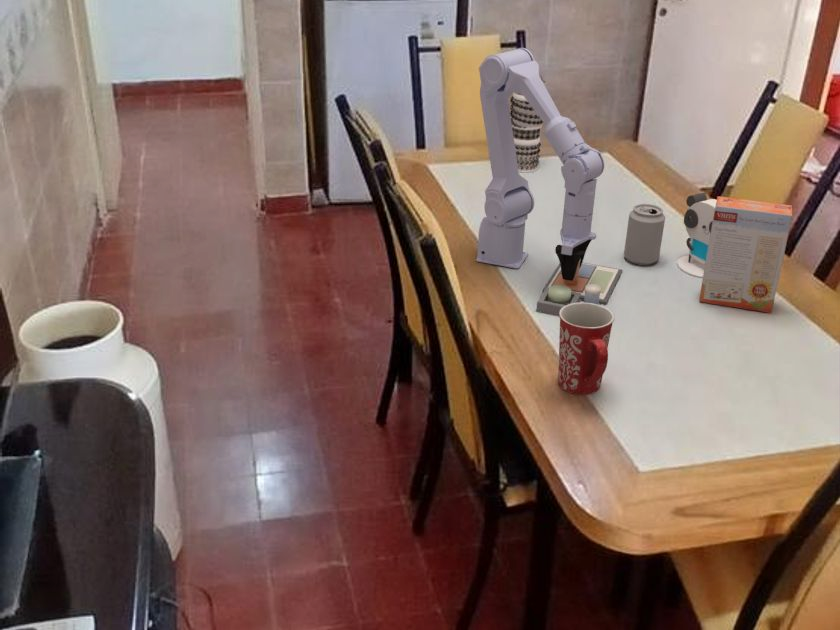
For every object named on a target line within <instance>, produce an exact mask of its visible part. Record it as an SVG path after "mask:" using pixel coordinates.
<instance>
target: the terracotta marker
mask: <svg viewBox="0 0 840 630" xmlns="http://www.w3.org/2000/svg"><path fill="white" fill-rule="evenodd" d="M580 260H581V258H580ZM579 266H580V261H579V263H578V266H577V270H576V274H575V277H574V279H573V281H569V280H564V283H565V284H567V285H576V284H577V283H578V274H579Z"/></svg>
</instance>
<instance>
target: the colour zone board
mask: <svg viewBox="0 0 840 630" xmlns="http://www.w3.org/2000/svg"><path fill="white" fill-rule="evenodd" d="M621 273H623V269H621V268H617V267H616V268H615V267H610V266H609V267H608V266H605V265H604V266H603V265H598V264H593V263H587V262H582V265H581V267H580V269H579V274H578V283H577V284H576V285H567V284H565V283H564V279H563V278H562V273H561V265H560V262H559V263H558V264H557V266H556V268H555V270H554V272H553V273H552V275H551V276H550V278H549V279H548V281H547V283H546V284H545V285H544V287H543V288H542V293H543V292H544V290H545V289H546V287H551V286H553V285H564V286H567V287H569V288H570V289H571V292H576V293H581V298H580V301H583V302H584V297H585V286H586V285H588V284H596V285H598V286H600V287H601V291H600V296H599V305H602V306H603V305H604V306H607V305H608V303H609V300H610V298H611V295H612V294H613V292H614V290H615V287H616V286H617V284H618V281H619V280H620V277H621V276H620V275H622V274H621Z"/></svg>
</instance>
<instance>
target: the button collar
mask: <svg viewBox="0 0 840 630" xmlns="http://www.w3.org/2000/svg"><path fill="white" fill-rule="evenodd" d="M548 291H549V287H546V289H545V290H544V292H543V293H542V294H541V295H540V297H539V298H538V300H537V302H536V309H535V311H536V312H539V313H540V312H541V313H545V314H550V315H555V316H559V311H560V309H561V308H562V307H564V306H566V305H567V304H558V303H553V302H550V301H549V300H548ZM580 298H581V293H576V292H571V300H570V302H569V304H572V303H581V300H580Z"/></svg>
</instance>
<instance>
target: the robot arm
mask: <svg viewBox="0 0 840 630" xmlns="http://www.w3.org/2000/svg"><path fill="white" fill-rule="evenodd" d="M478 71H479V78H480V87H479V88H480V89H479V98H480V105H481V111H482V117H483V123H484V130H485V135H486V143H487V144H486V145H487V149H488V155H489V157H488V158H489V163H490V170H491V175H492V176H491V177H492V179H491V181H490V182H489V184H488V185H487V187H486V188H485V191H484V193H485V202H484V206H483V207H484V213H485V216H484V217H483V218H482V220H481V222H480V223H479V224H480V225H479V229H478V236H477V237H478V240H477V243H478V244H477V258H476V259H475V260H476V262H479V263H485V264H490V265H494V266H499V267H500V266H501V267H505V268H510V269H517V270H518V269H519V268H520V267H521V266H522V264H523V263H524V261H526V259H527V258H528V256H529V252H527V251H524V246H525V245H524V244H525V243H524V242H525V233H526V232H525V230H526V221H527V220H528V218H529V217H528V216H529V214H531V213H532V211H533V210H534V207H535V199H534V195H533V194H532V192H531V190H530V187H529V181H528V180H527V179H526V178H525V177H523V176H522V175H520V172H519V171H518V164H517V157H516V150H515V144H514V137H513V130H512V123H511V118H512V117H511V115H510V112H511V109H510V103H509V98H511V97H510V96H511V95H512V94H513V93H518V94H522V95H523V96H524V97H525V98H526V100H527V101H528V102H529V104H530V105H531V106H532V108H533V109H534V110H535V112H536V113H537V115H538V116H539V117H540V119H541V120H542V121H543V123H544V125H545V131H544V136H545V138H546V139H547V141H548V143H549V145H550V146H551V147H552V149H553V151H554V152H555V154H556V156H557V157H558V158H559V160H560V162H561V163H562V165H561V166H560V171H561V176H562V178H563V179H564V189H565V192H564V193H565V195H564V204H563V212H562V223H561V229H560V233H559V234H560V239H561V243H562V244H557V245H556V247H555V249H554V252H555V254H556V256H557V258H558V261H559V263H560V265H561V273H562V278H563V279H564V280H569V281H573V279H574V277H575V274H576V270H577V266H578V263H579V261H580V266H579V269H580V267H581V265H582V262H583V261H584V258H585V256H586V253H587V249H588V247H589V245H590V243H591V242H592V240H593V241H594V240H596V238H597V233H596V232H593V231H592V222H593V214H594V206H595V198H596V197H595V196H596V188H597V182H598V178H599V177H600V176H601V175H602V174H603V172H604V170H605V161H604V158H603V155H602V153H601V152H600V151H599V150H598V149H596V148H593V147H591V145H590V144H589V145H588V144H587V143H586V141H585V140H584V138H583V137H582V135H581V133H580V132H579V130H578V129H577V125H576V123H575V121H572V120H571V118H569V117H566V116H562V115H561V113H560V111H559V110H558V107H557V105H556V104H555V102H554V100H553V99H552V97H551V95H550V93H549V91H548V89H547V87H546V85H545V83H544V84H543V82H542V80H541V78H540V76H541V75H540V65H539V63H538V62H537V61H536V59H535V58H534V55H533V53H532V52H531V51H530V50H529V49H528V48H525V47H518V48H516V49H513V50H509V51H505V52H500V53H496V54H495V53H494V54H489V55H488V56H487V57H485V58H484V59H483V61H482V63H481V64H480V66H478ZM539 75H540V76H539ZM543 123H542V124H543ZM580 258H581V260H580ZM583 263H584V262H583Z"/></svg>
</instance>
